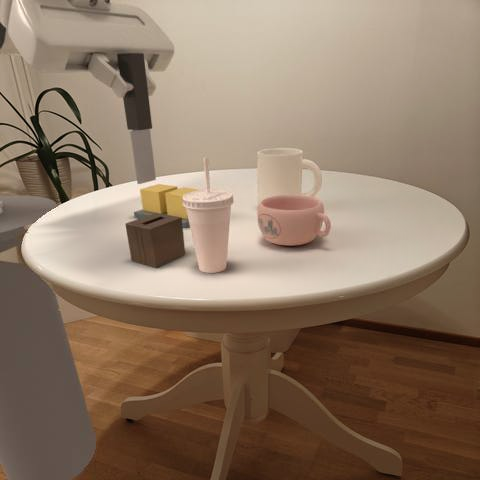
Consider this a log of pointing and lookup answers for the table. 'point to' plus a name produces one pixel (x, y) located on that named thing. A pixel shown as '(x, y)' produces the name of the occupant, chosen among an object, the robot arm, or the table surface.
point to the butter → (165, 199)
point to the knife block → (155, 239)
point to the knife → (138, 115)
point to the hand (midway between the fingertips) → (138, 92)
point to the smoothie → (209, 224)
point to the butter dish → (144, 213)
